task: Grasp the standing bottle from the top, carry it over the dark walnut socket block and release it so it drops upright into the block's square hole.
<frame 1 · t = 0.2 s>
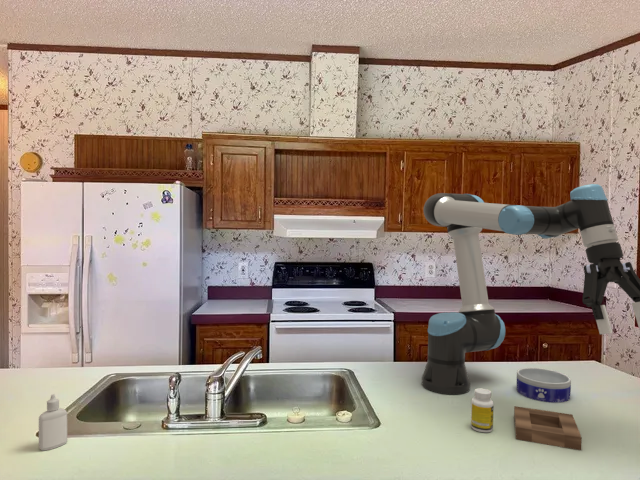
hand: (626, 331, 106), 28 cm above the countertop, tool tilted 20°, fingers open, 13 cm apart
walnut socket block: (545, 432, 114), on the countertop
supplement bottle: (481, 429, 116), on the countertop
eye dropper bottle: (53, 446, 104), on the countertop
dog bowl: (542, 394, 141), on the countertop
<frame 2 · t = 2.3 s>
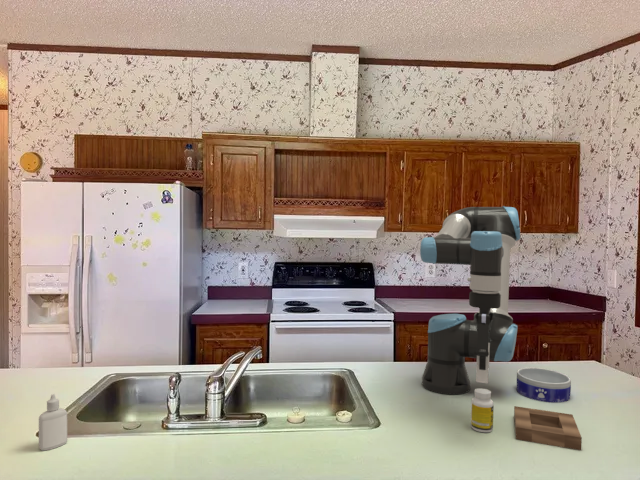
hand: (482, 374, 115), 14 cm above the countertop, tool pointing down, fingers open, 13 cm apart
nothing on the countertop moved.
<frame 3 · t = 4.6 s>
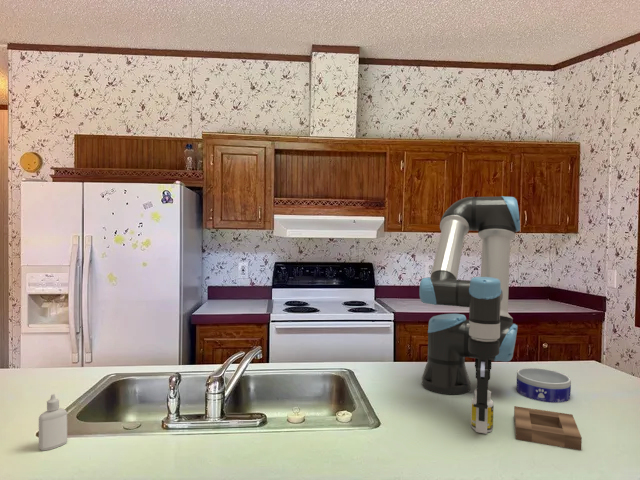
hand: (481, 427, 116), 0 cm above the countertop, tool pointing down, fingers closed on supplement bottle, 5 cm apart
supplement bottle: (481, 429, 116), on the countertop, touching gripper
everything else where it was.
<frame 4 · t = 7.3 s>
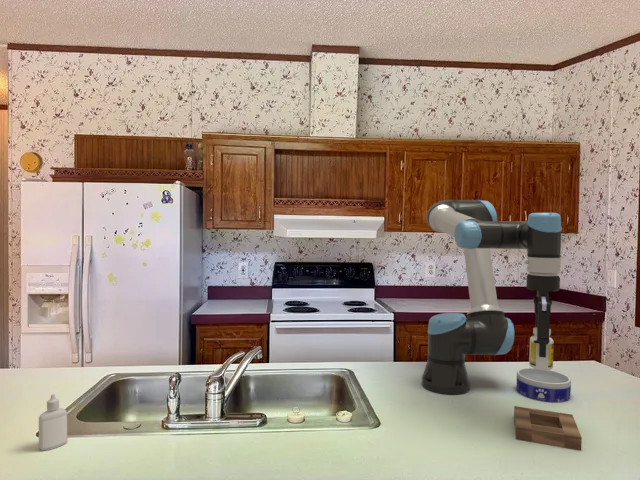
hand: (541, 365, 113), 17 cm above the countertop, tool pointing down, fingers closed on supplement bottle, 5 cm apart
supplement bottle: (540, 368, 113), point 17 cm above the countertop, touching gripper
everything else where it was.
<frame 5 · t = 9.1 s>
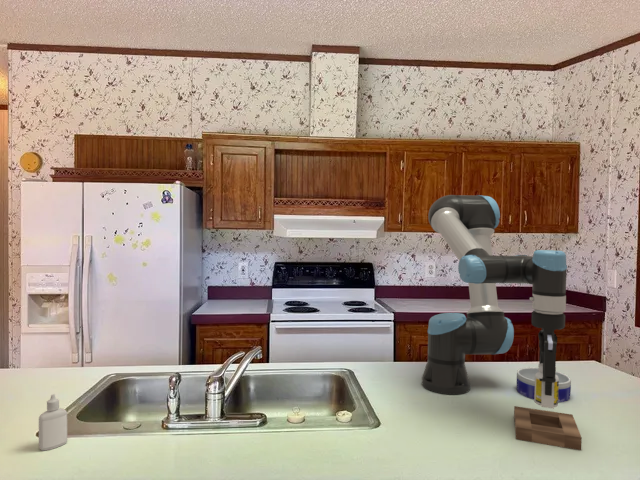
hand: (546, 402, 114), 8 cm above the countertop, tool pointing down, fingers closed on supplement bottle, 5 cm apart
supplement bottle: (546, 404, 114), point 7 cm above the countertop, touching gripper
everything else where it was.
when the fingers open (5 cm above the countertop, at t = 10.4 s): supplement bottle drops 4 cm, resting in walnut socket block.
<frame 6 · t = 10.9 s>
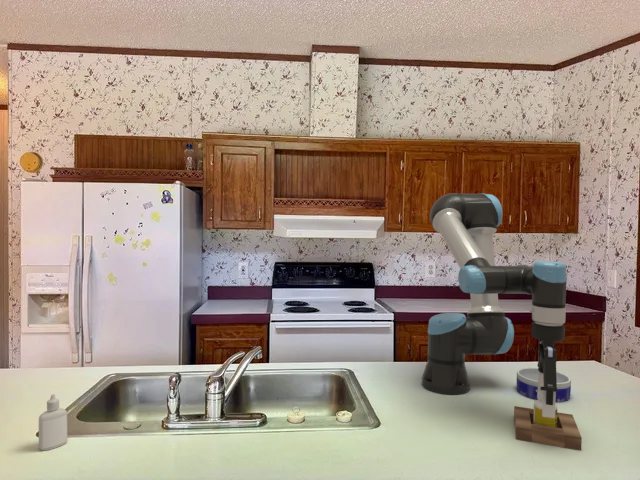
hand: (545, 406, 114), 7 cm above the countertop, tool pointing down, fingers open, 12 cm apart
supplement bottle: (544, 432, 114), resting in walnut socket block
everything else where it was.
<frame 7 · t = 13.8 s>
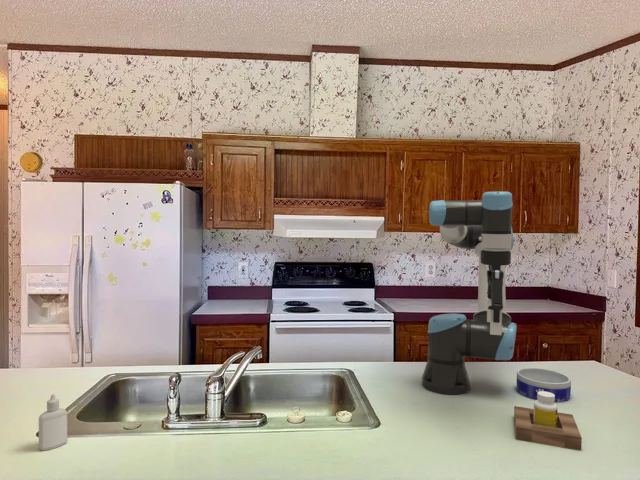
hand: (493, 328, 121), 25 cm above the countertop, tool pointing down, fingers open, 13 cm apart
nothing on the countertop moved.
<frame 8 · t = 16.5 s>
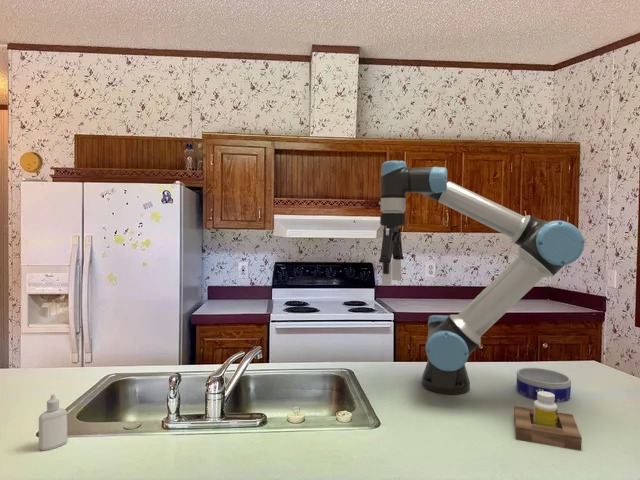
hand: (391, 282, 137), 35 cm above the countertop, tool pointing down, fingers open, 13 cm apart
nothing on the countertop moved.
at the end: supplement bottle 0.3 cm off-centre on the walnut socket block, point 0.0 cm above the walnut socket block's base; supplement bottle tilted 0°; the gripper is holding nothing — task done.
